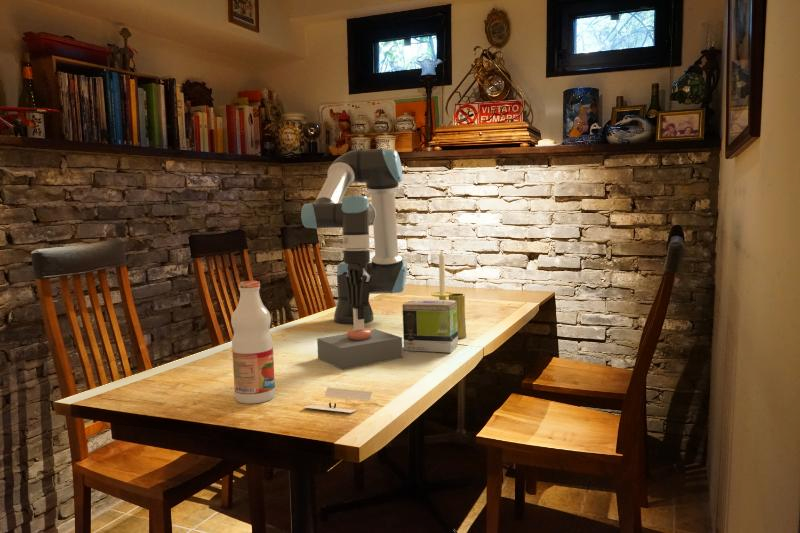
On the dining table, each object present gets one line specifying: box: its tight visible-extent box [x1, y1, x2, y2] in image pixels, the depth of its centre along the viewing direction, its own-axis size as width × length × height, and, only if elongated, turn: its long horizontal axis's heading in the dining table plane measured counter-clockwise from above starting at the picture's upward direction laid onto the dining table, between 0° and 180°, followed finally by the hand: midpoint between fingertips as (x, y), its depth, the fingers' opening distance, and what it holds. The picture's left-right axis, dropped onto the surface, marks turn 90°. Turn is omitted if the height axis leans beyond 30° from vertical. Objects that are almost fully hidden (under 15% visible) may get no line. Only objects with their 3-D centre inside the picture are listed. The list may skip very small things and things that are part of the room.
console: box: [316, 328, 403, 371], centre depth 181 cm, size 15×20×6 cm
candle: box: [431, 249, 453, 300], centre depth 232 cm, size 10×10×27 cm
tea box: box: [402, 299, 459, 354], centre depth 189 cm, size 15×10×15 cm
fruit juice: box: [230, 280, 276, 405], centre depth 145 cm, size 9×9×28 cm
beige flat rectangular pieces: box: [303, 387, 373, 413], centre depth 141 cm, size 12×12×2 cm
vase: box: [448, 292, 467, 340], centre depth 204 cm, size 6×6×14 cm
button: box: [346, 327, 372, 341], centre depth 181 cm, size 7×7×8 cm
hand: (359, 329), depth 180 cm, fingers closed
